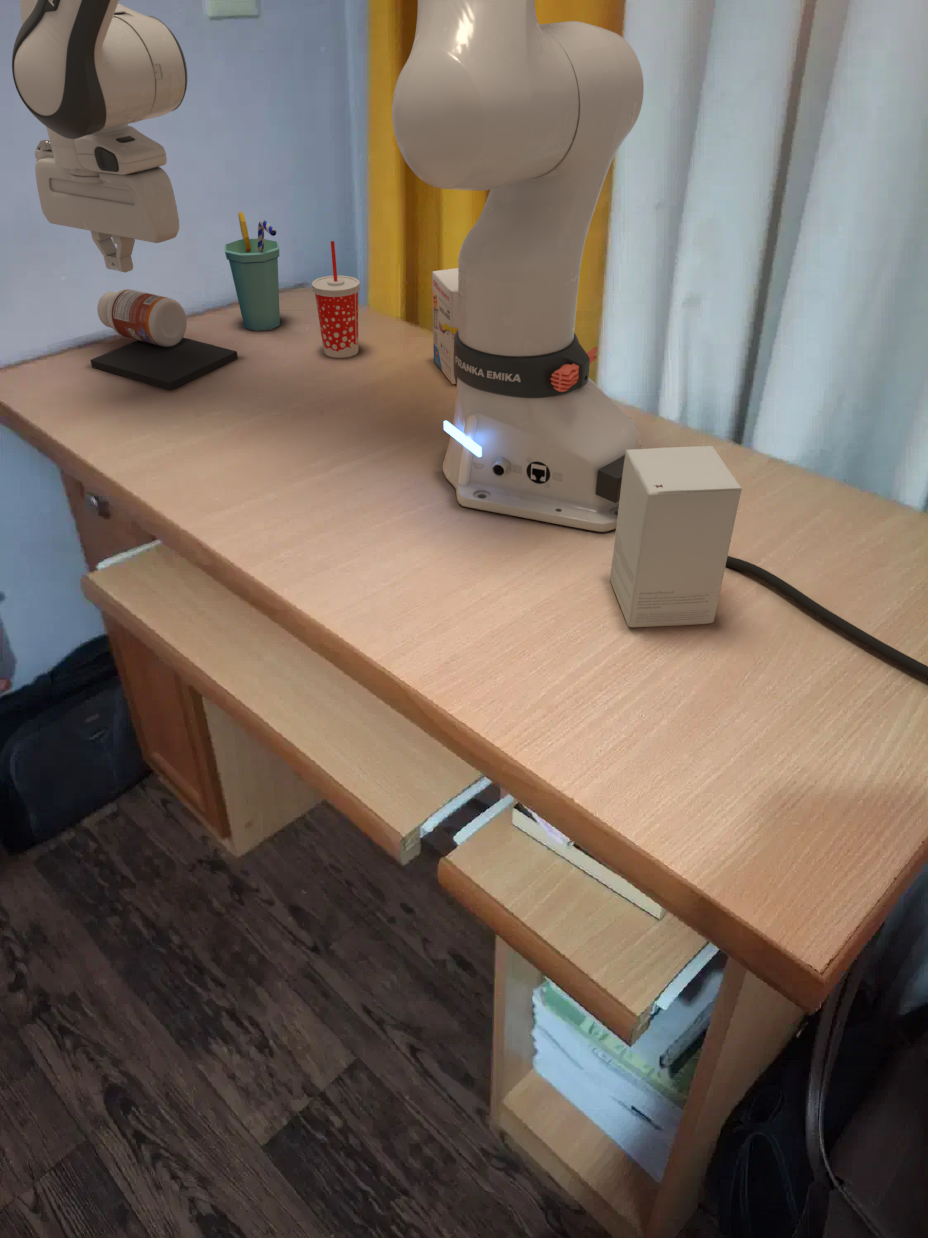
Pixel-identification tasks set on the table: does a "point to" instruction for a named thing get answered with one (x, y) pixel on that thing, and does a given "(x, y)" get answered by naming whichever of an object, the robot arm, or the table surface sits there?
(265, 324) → the cup
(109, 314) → the pill bottle
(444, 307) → the ink box
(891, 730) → the table surface
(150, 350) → the mat
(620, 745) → the table surface
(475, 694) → the table surface
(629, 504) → the white packaging box
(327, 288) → the beverage cup
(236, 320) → the table surface
